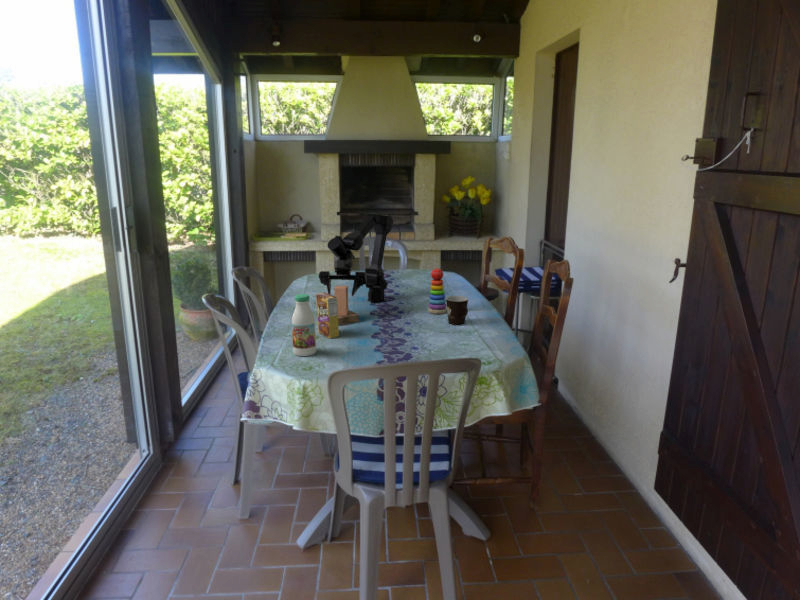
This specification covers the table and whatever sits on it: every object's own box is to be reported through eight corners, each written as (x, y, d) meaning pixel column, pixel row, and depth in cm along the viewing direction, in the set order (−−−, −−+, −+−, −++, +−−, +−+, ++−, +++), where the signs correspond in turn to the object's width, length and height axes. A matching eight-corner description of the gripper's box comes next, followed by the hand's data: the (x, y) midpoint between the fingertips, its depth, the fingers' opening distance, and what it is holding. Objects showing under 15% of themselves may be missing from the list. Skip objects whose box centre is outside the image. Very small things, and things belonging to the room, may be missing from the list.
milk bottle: (294, 349, 191) (291, 292, 185) (317, 348, 191) (314, 292, 186) (292, 357, 183) (288, 298, 178) (315, 356, 184) (313, 298, 179)
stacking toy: (448, 310, 237) (449, 267, 232) (444, 315, 230) (444, 271, 225) (431, 308, 240) (431, 266, 235) (425, 313, 232) (426, 269, 227)
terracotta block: (337, 312, 224) (336, 285, 221) (348, 312, 224) (347, 285, 221) (335, 315, 220) (334, 288, 217) (346, 315, 220) (345, 288, 217)
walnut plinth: (347, 316, 229) (347, 309, 229) (359, 321, 221) (358, 314, 221) (325, 319, 224) (325, 312, 223) (336, 326, 216) (336, 318, 215)
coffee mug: (445, 319, 224) (445, 295, 221) (466, 320, 223) (467, 295, 221) (446, 328, 212) (447, 303, 210) (469, 328, 212) (469, 303, 210)
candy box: (317, 333, 208) (315, 293, 204) (327, 330, 210) (325, 291, 206) (329, 339, 201) (327, 298, 197) (339, 336, 203) (338, 296, 200)
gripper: (318, 251, 220) (313, 284, 212) (365, 251, 219) (361, 285, 211) (323, 266, 230) (318, 299, 222) (368, 267, 228) (365, 300, 221)
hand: (340, 295), depth 219 cm, fingers open, 9 cm apart
